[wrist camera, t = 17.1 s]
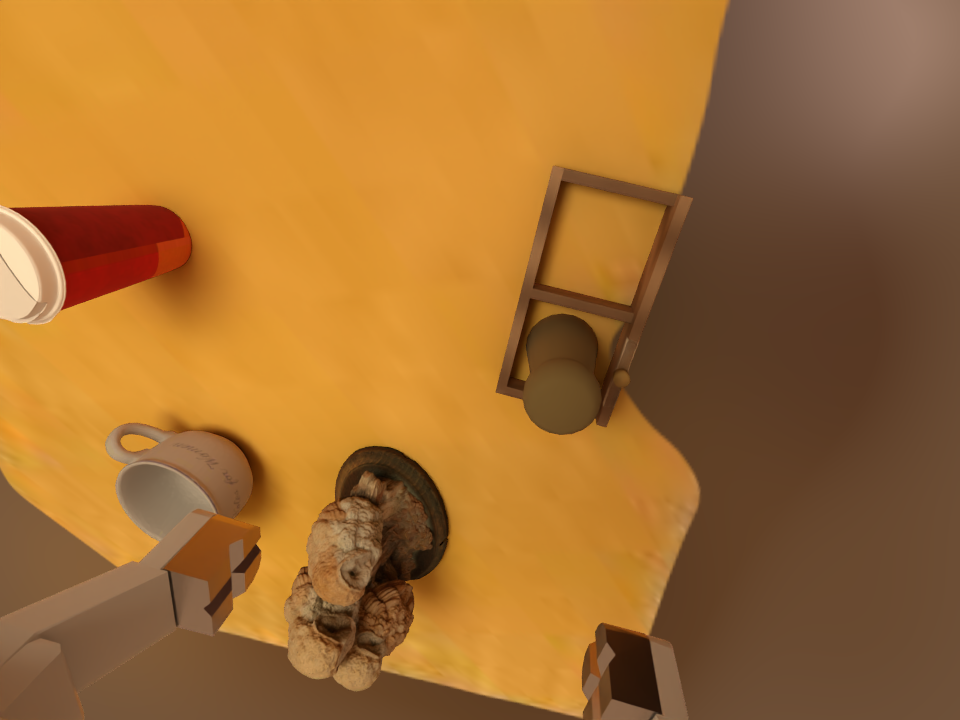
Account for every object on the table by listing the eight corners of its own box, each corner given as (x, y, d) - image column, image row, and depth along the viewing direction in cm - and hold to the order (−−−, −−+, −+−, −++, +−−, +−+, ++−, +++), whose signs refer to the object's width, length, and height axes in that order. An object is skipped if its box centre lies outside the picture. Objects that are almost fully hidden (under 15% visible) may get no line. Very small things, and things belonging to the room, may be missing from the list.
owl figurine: (466, 576, 52) (424, 752, 36) (370, 578, 55) (293, 744, 39) (425, 438, 46) (354, 581, 30) (319, 449, 48) (203, 585, 33)
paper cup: (111, 194, 41) (-93, 208, 28) (188, 189, 40) (11, 201, 27) (141, 282, 44) (-31, 331, 31) (213, 280, 43) (65, 329, 30)
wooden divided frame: (553, 165, 34) (552, 165, 31) (685, 196, 34) (700, 199, 30) (498, 382, 42) (492, 403, 38) (605, 410, 41) (609, 434, 38)
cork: (595, 381, 40) (607, 451, 30) (526, 379, 41) (514, 446, 31) (599, 314, 38) (613, 366, 28) (525, 313, 39) (513, 364, 29)
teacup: (285, 487, 51) (239, 540, 44) (213, 510, 54) (159, 564, 47) (211, 378, 47) (147, 417, 40) (138, 411, 50) (66, 452, 43)
